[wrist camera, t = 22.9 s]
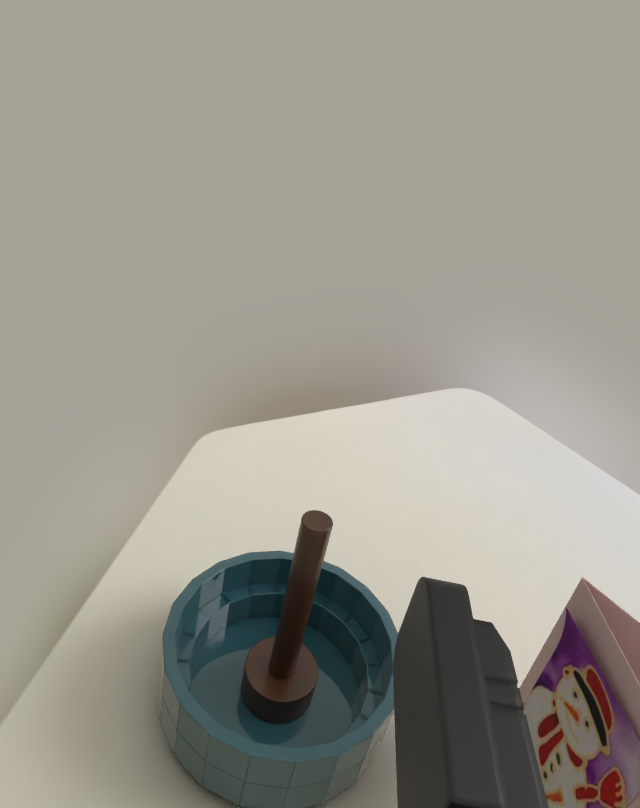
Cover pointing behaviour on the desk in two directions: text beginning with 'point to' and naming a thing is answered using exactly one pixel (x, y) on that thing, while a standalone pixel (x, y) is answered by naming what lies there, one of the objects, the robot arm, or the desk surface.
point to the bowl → (223, 670)
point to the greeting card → (587, 705)
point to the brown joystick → (289, 635)
